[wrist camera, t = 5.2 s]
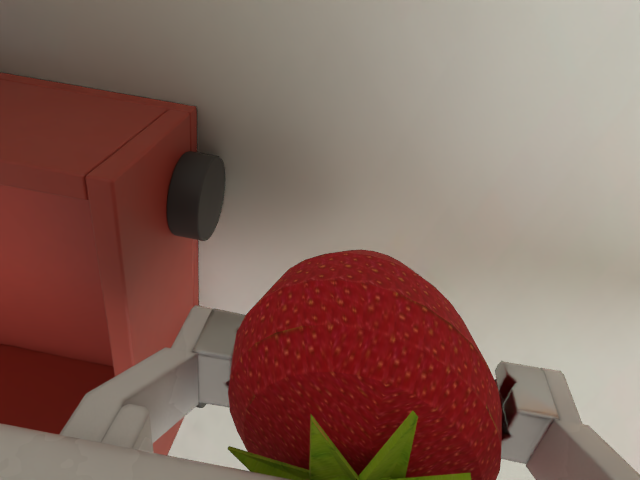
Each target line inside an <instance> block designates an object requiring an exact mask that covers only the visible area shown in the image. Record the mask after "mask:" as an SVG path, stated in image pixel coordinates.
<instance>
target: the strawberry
mask: <svg viewBox="0 0 640 480" xmlns="http://www.w3.org/2000/svg"><path fill="white" fill-rule="evenodd" d="M228 397H229V406H230V413H231V415H232V418H233V421H234V423H235V426H236V429H237V431H238V433H239V435H240V437H241V439H242V441H243V443H244V445H245V447H246V449H247V451H248V452H247V451H243V450H240V449H236V448H233V447H230V446H229V447H228V450H229V451H230V452H231V453H232V454H233V455H234V456H235V457H236V458H237V459H238V460H239V461H240V462H242V463H243V464H244V465H245V466H246V467H247V468H248V469H249V470H250V471H251V472H255V473H260V474H266V475H271V476H276V477H281V478H286V479H292V480H496V478H497V476H498V473H499V471H500V462H501V440H502V407H501V402H500V397H499V392H498V387H497V385H496V383H495V381H494V378H493V376H492V374H491V372H490V369H489V367H488V365H487V363H486V362H485V360H484V358H483V356H482V354H481V352H480V351H479V349H478V347H477V345H476V343H475V341H474V340H473V338H472V336H471V334H470V332H469V331H468V329H467V327H466V325H465V323H464V321H463V320H462V318H461V317H460V315H459V314H458V313H457V311H456V310H455V308H454V307H453V306H452V304H451V303H450V302H449V301H448V300H447V299H446V298H445V297H444V296H443V295H442V294H441V293H440V292H439V291H438V290H437V289H436V288H435V287H434V286H433V285H431V284H430V283H429V282H427V281H426V280H425V279H423V278H422V277H421V276H419V275H418V274H417V273H415V272H414V271H413V270H411V269H410V268H408V267H407V266H406V265H404V264H403V263H401V262H400V261H398V260H396V259H394V258H392V257H390V256H388V255H385V254H381V253H378V252H375V251H367V250H350V251H342V252H335V253H329V254H323V255H320V256H316V257H313V258H310V259H306V260H304V261H302V262H300V263H299V264H297V265H295V266H294V267H292V268H290V269H289V270H288V271H287V272H286V273H285V274H284V275H283V276H282V277H281V278H280V279H279V280H278V281H277V282H276V283H275V284H274V285H273V286H272V288H271V289H270V290H269V291H268V292H267V293H266V294H265V295H264V296H263V297H262V298H261V299H260V300H259V302H258V303H257V304H256V305H255V306H254V307H253V308H252V309H251V310H250V311H249V312H248V313H247V314H246V316H245V317H244V319H243V321H242V323H241V325H240V327H239V329H238V331H237V333H236V338H235V344H234V350H233V358H232V365H231V373H230V381H229V389H228Z"/></svg>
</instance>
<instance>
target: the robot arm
mask: <svg viewBox="0 0 640 480" xmlns="http://www.w3.org/2000/svg"><path fill="white" fill-rule="evenodd" d="M245 316H246V315H243V314H238V313H233V312H229V311H224V310H219V309H212V308H207V307H202V306H198V305H195V306H194V307H193V308H192V309H191V310H190V312H189V314H188V316H187V318H186V320H185V322H184V324H183V326H182V328H181V329H180V331H179V333H178V335H177V337H176V339H175V341H174V343H173V345H172V347H171V348H166V347H165V348H163V349H162V350H160V351H158V352H156V353H155V354H153V355H151V356H150V357H148V358H146V359H144V360H143V361H141V362H139V363H138V364H136V365H134V366H132V367H131V368H129V369H127V370H126V371H124V372H122V373H120V374H119V375H117V376H115V377H114V378H112V379H110V380H108V381H107V382H105V383H103V384H102V385H100V386H98V387H97V388H95V389H93V390H91V391H90V392H88V393H86V394H85V396H84V397H83V399H82V400H81V402H80V403H79V405H78V406H77V408H76V409H75V411H74V413H73V414H72V416H71V417H70V419H69V420H68V422H67V423H66V425H65V426H64V428H63V429H62V431H61V432H60V434H59V435H58V434H53V433H48V432H43V431H38V430H32V429H27V428H22V427H17V426H12V425H6V424H1V423H0V480H292V479H286V478H281V477H276V476H271V475H266V474H260V473H255V472H250V471H245V470H240V469H235V468H229V467H224V466H219V465H214V464H209V463H204V462H198V461H193V460H188V459H183V458H178V457H172V456H167V455H162V454H157V453H154V452H153V443H154V442H155V441H156V440H157V439H158V438H160V437H161V436H162V435H163V434H164V433H165V432H167V431H168V430H169V429H170V428H171V427H173V426H174V425H175V424H176V423H177V422H178V421H180V420H181V419H182V418H183V417H184V416H185V415H187V414H188V413H189V412H190V411H191V410H192V409H194V408H195V407H196V406H197V405H198V402H200V403H206V404H212V405H219V406H225V407H230V406H229V397H228V389H229V381H230V373H231V365H232V358H233V350H234V344H235V338H236V333H237V331H238V329H239V327H240V325H241V323H242V321H243V319H244V317H245ZM495 374H496V379H495V380H494V381H495V383H496V385H497V387H498V392H499V397H500V402H501V407H502V440H501V459H505V460H510V461H514V462H519V463H524V464H526V467H527V468H528V469H529V471H530V472H531V474H532V475H533V476H534V478H535V479H536V480H640V475H639V474H638V473H637V472H636V471H635V470H634V469H633V468H632V467H631V466H630V465H629V464H628V463H627V462H626V461H625V460H624V459H623V458H622V457H621V456H620V455H619V454H618V453H617V452H616V451H614V450H613V449H612V448H611V447H610V446H609V445H608V444H607V443H606V442H605V441H604V440H603V439H602V438H601V437H600V436H599V435H598V434H597V433H596V432H595V431H594V430H593V429H592V428H591V427H590V426H589V425H584V424H582V421H581V419H580V416H579V413H578V411H577V408H576V406H575V403H574V400H573V398H572V395H571V392H570V390H569V387H568V384H567V382H566V379H565V377H564V374H563V373H562V372H561V371H557V370H551V369H545V368H538V367H532V366H527V365H521V364H515V363H509V362H503V361H501V362H500V363H499V364H498V366H497V368H496V370H495Z"/></svg>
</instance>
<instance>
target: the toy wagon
mask: <svg viewBox="0 0 640 480" xmlns="http://www.w3.org/2000/svg"><path fill="white" fill-rule="evenodd" d="M224 191H225V169H224V164H223V161H222V159H221V158H220V157H219V156H214V155H209V154H203V153H197V108H196V107H195V106H190V105H184V104H178V103H173V102H167V101H161V100H155V99H150V98H144V97H138V96H132V95H127V94H121V93H115V92H109V91H104V90H98V89H92V88H87V87H81V86H75V85H69V84H64V83H58V82H52V81H46V80H41V79H35V78H29V77H23V76H18V75H12V74H6V73H1V72H0V423H1V424H6V425H12V426H17V427H22V428H27V429H32V430H38V431H43V432H48V433H53V434H58V435H59V434H60V432H61V431H62V429H63V428H64V426H65V425H66V423H67V422H68V420H69V419H70V417H71V416H72V414H73V413H74V411H75V409H76V408H77V406H78V405H79V403H80V402H81V400H82V399H83V397H84V396H85V394H86V393H88V392H90V391H91V390H93V389H95V388H97V387H98V386H100V385H102V384H103V383H105V382H107V381H108V380H110V379H112V378H114V377H115V376H117V375H119V374H120V373H122V372H124V371H126V370H127V369H129V368H131V367H132V366H134V365H136V364H138V363H139V362H141V361H143V360H144V359H146V358H148V357H150V356H151V355H153V354H155V353H156V352H158V351H160V350H162V349H163V348H165V347H166V348H171V347H172V345H173V343H174V341H175V339H176V337H177V335H178V333H179V331H180V329H181V328H182V326H183V324H184V322H185V320H186V318H187V316H188V314H189V312H190V310H191V309H192V308H193V307H194V306H195V305H198V306H199V292H198V240H201V241H206V240H208V239H209V238H210V237H211V235H212V233H213V232H214V230H215V228H216V225H217V223H218V220H219V216H220V213H221V209H222V204H223V198H224ZM205 405H206V403H200V402H198V405H197V406H196V407H198V408H203V407H204V406H205ZM183 419H184V417H183V418H182V419H181V420H180V421H178V422H177V423H176V424H175V425H174V426H173V427H171V428H170V429H169V430H168V431H167V432H165V433H164V434H163V435H162V436H161V437H160V438H158V439H157V440H156V441H155V442H154V443H153V452H154V453H157V454H162V455H168V452H169V450H170V448H171V446H172V443H173V441H174V439H175V437H176V434H177V432H178V430H179V428H180V425H181V423H182V421H183Z"/></svg>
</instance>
